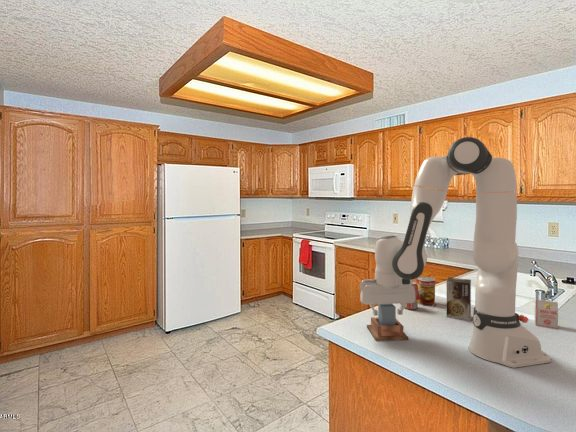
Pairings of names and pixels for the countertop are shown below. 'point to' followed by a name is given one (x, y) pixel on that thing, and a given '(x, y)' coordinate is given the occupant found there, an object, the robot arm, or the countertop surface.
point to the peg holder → (386, 331)
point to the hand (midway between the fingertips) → (387, 314)
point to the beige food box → (546, 314)
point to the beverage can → (415, 304)
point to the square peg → (386, 314)
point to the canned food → (426, 291)
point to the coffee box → (458, 298)
